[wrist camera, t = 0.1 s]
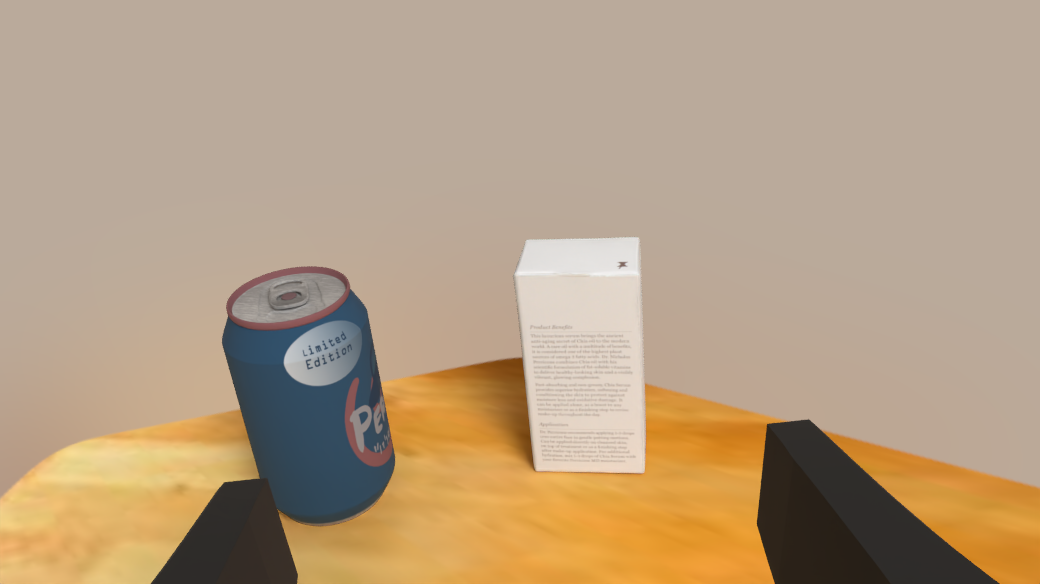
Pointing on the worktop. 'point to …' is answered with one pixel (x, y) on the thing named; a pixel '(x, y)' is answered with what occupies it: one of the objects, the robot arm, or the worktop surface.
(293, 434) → the soda can
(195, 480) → the worktop surface
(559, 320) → the skincare box
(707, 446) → the worktop surface
